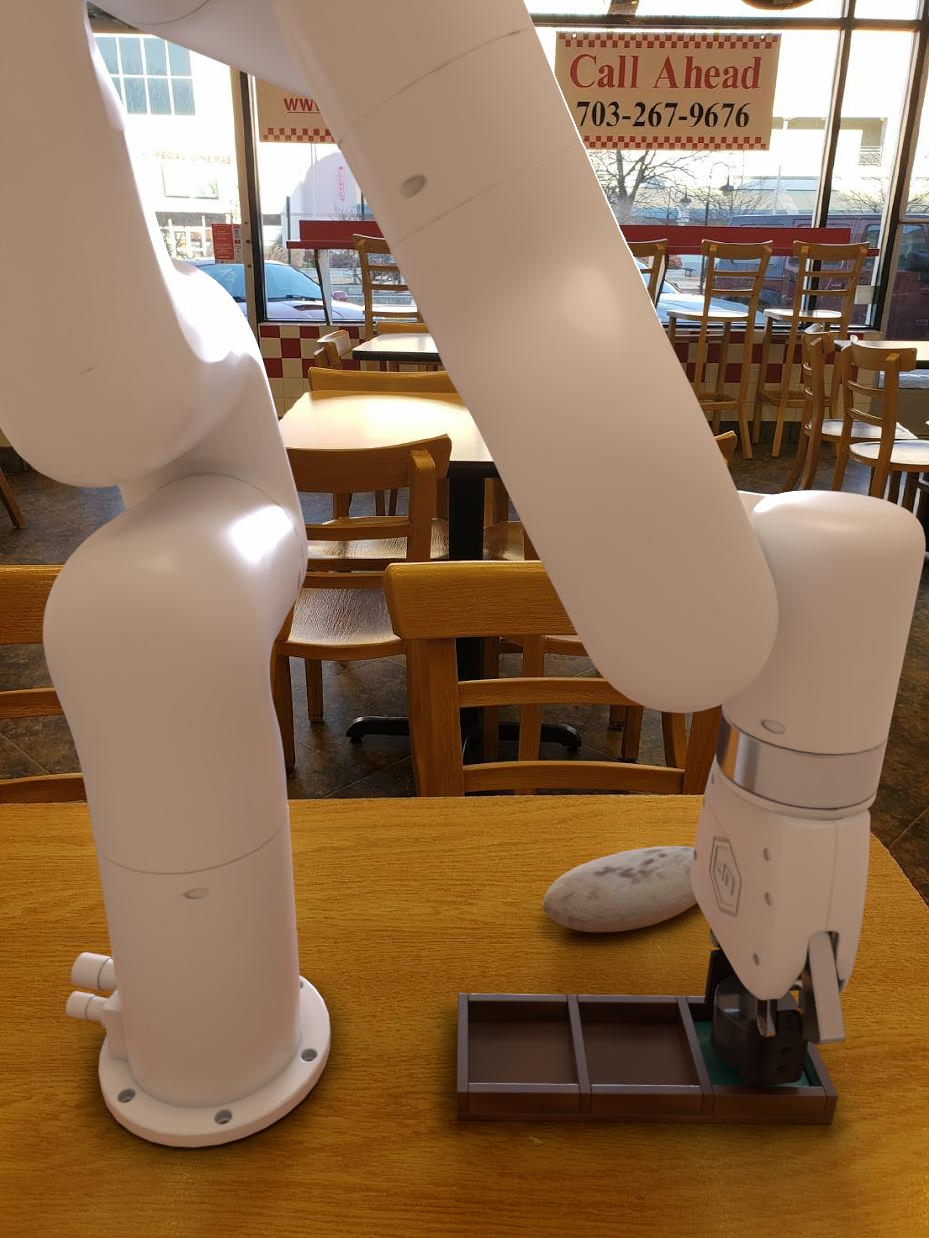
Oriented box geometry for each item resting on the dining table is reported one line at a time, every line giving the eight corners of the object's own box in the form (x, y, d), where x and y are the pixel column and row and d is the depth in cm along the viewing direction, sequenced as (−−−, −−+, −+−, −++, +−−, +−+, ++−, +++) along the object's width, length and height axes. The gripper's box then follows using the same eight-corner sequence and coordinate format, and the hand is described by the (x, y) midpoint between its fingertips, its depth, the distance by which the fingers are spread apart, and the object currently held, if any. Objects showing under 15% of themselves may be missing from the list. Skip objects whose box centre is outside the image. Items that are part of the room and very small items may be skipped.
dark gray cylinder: (709, 1067, 50) (715, 1024, 49) (708, 1007, 54) (714, 966, 53) (795, 1083, 50) (803, 1039, 48) (788, 1022, 54) (795, 980, 52)
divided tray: (789, 1023, 56) (794, 996, 55) (832, 1124, 49) (838, 1096, 49) (457, 1019, 56) (457, 992, 55) (456, 1120, 49) (456, 1091, 49)
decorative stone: (754, 899, 67) (760, 858, 66) (570, 966, 60) (573, 922, 59) (697, 853, 72) (702, 814, 71) (522, 910, 65) (524, 869, 64)
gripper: (666, 680, 53) (639, 942, 59) (803, 860, 37) (745, 1189, 44) (793, 675, 54) (752, 934, 60) (979, 849, 38) (896, 1174, 45)
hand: (750, 1039), depth 52 cm, fingers closed on dark gray cylinder, 4 cm apart
